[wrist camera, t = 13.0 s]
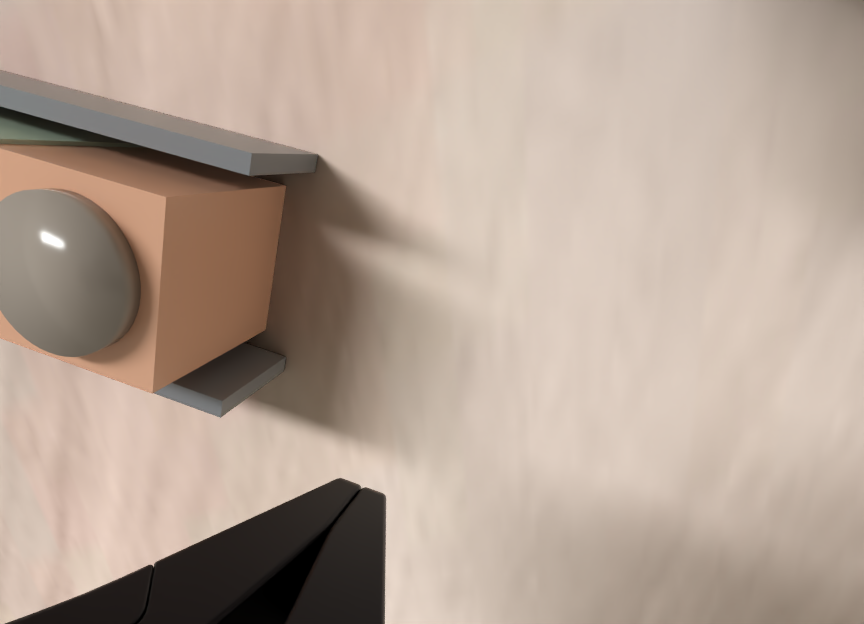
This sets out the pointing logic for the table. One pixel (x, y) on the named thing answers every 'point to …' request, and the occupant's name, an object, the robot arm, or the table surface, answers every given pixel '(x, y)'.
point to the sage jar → (49, 132)
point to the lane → (244, 364)
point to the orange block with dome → (133, 258)
